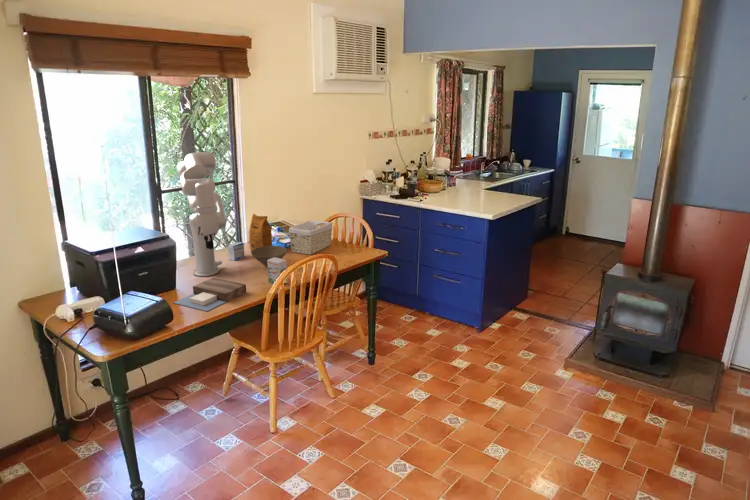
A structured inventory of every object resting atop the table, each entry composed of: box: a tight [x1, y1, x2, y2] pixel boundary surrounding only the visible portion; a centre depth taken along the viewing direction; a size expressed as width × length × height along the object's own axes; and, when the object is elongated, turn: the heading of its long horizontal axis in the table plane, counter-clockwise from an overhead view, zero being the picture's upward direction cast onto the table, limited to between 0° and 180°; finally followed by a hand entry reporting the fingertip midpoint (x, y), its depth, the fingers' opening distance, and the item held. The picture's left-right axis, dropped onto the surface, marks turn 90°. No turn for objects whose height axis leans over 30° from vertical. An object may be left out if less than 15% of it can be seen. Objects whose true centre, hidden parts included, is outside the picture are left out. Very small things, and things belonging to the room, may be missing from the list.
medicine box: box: [227, 241, 246, 262], centre depth 288 cm, size 8×4×9 cm, turn 148°
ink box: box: [267, 257, 288, 284], centre depth 251 cm, size 8×5×12 cm, turn 55°
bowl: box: [250, 245, 288, 266], centre depth 278 cm, size 18×18×8 cm
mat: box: [173, 293, 227, 313], centre depth 229 cm, size 11×20×1 cm, turn 62°
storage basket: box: [288, 219, 333, 255], centre depth 304 cm, size 24×16×15 cm
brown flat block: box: [192, 277, 247, 303], centre depth 239 cm, size 13×20×4 cm, turn 62°
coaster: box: [190, 292, 217, 306], centre depth 230 cm, size 8×8×2 cm
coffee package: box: [249, 213, 273, 253], centre depth 298 cm, size 10×12×22 cm
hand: (210, 248), depth 239 cm, fingers closed
